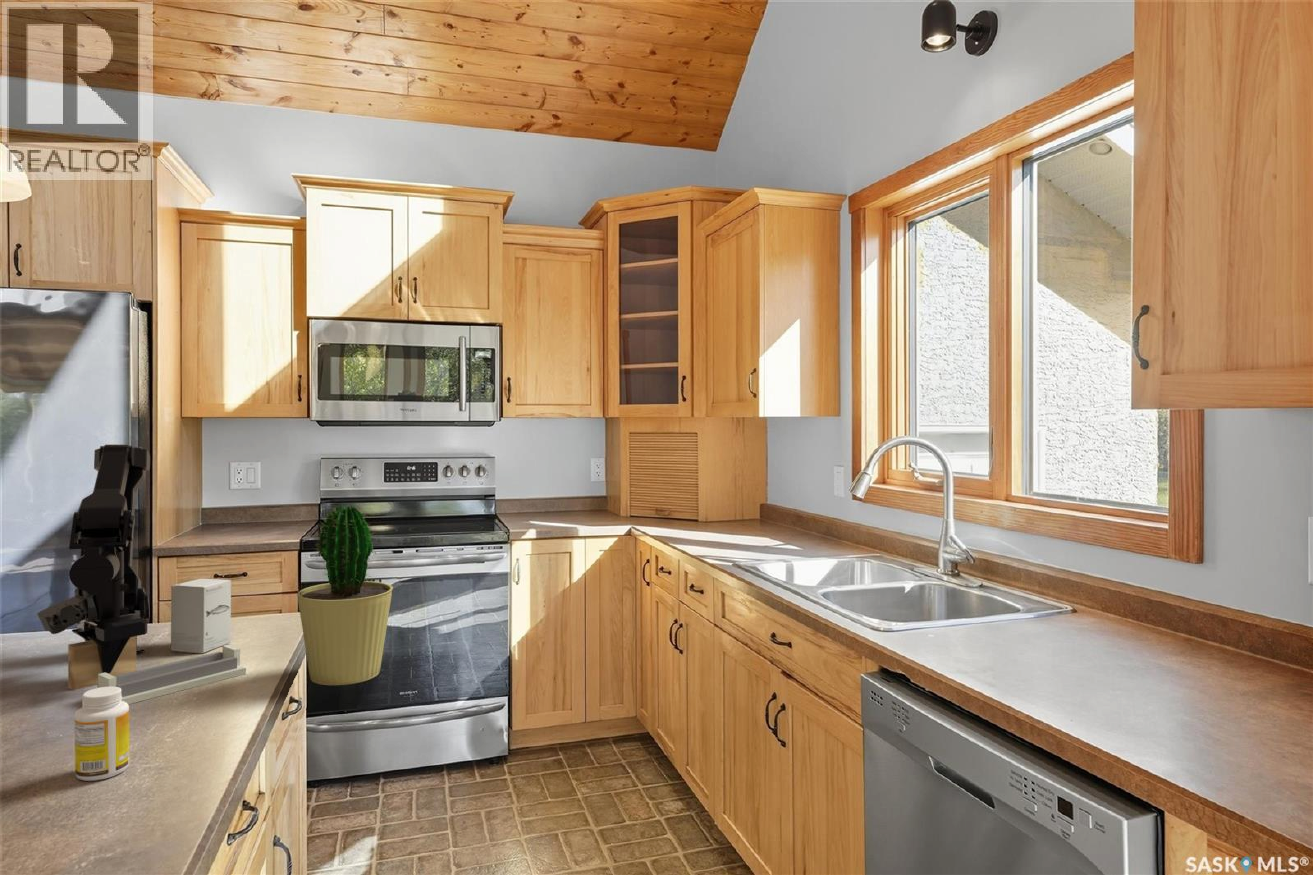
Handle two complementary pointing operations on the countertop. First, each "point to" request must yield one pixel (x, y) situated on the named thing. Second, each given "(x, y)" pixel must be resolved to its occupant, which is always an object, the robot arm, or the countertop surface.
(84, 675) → the door panel
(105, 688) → the supplement bottle
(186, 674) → the track board
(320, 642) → the potted cactus
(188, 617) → the supplement box
